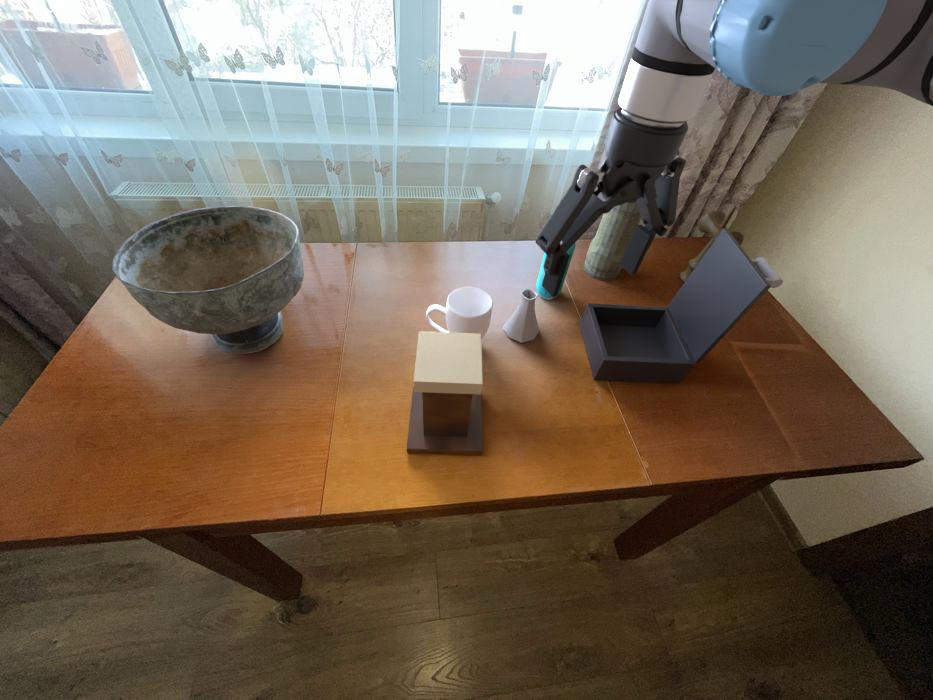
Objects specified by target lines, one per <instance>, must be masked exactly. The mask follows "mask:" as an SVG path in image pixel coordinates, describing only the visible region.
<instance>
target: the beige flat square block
mask: <svg viewBox="0 0 933 700" xmlns="http://www.w3.org/2000/svg"><path fill="white" fill-rule="evenodd" d="M482 350H483V349H482V339H481V334H472V333H450V332H438V331H426V330H425V331H424V330H418V335H417V345H416V355H415V363H414V365H415V366H414V373H413V387H414V392H430V393H456V394H481V395H482V390H483V385H484V381H483V352H482Z"/></svg>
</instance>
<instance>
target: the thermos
mask: <svg viewBox="0 0 933 700" xmlns="http://www.w3.org/2000/svg"><path fill="white" fill-rule="evenodd" d="M677 155H678V156H679V157H680V150H679V151H678V153H677ZM654 186H655V190H656V186H657V180H656V181H655V185H654ZM641 221H642V218H641V215H640V212H639V209H638V206H637V203H636V202H634V203H624V204H622V205H619V206H614V207H613V208H612V209H611V210H610V212H608V213H604V214H602V217H601V220H600V222H599V225H598V228H597V231H596V234H595V236H594V237H593V238H592V240H591V241H590V244H589V246H588V250H587V252H586V255H585V261H584V263H583V270H584V272H585V273H587V274H588V276H590V277H592V278H593V279H597V280H600V281H612V280H615V279H617V277H618V276H619V274H620V271H621V269H623V267H622V266H621V265H620V263H621V261H622V258H623V256H624V254H625V251H626V249H627V247H628V244H629V242H630V240H631V238H632V235H633V233H634V231H635V228H636V226H637V225H640V222H641Z"/></svg>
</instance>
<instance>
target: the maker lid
mask: <svg viewBox="0 0 933 700" xmlns="http://www.w3.org/2000/svg"><path fill="white" fill-rule="evenodd" d="M730 231H731V230H729V229H728V228H727V229H723V230H722V232H721V233H720V234H719V236H718V237H717V238H716V240H715V241H714V243H713V244H712V245H711V247H710V248H709V250H708V251H707V252H706V254H705V255H704V256H703V258H702V259H701V261H700V262H699V263H698V265H697V266H696V267H695V269H694V270H693V272H692V273H691V274H690V276H689V277H688V278H687V280H686V281H685V283H684V282H683V284H682V285H681V286H680V288H679V289H678V291H677V292H676V293H675V295H674V296H673V298H672V299H671V300H670V302H669V303H668V304H667V307H669V309H670V311H671V314H672V316H673V318H674V320H675V322H676V324H677V326H678V328H679V330H680V332H681V334H682V336H683V339H684V341H685V343H686V345H687V347H688V349H689V351H690V353H691V355H692V357H693V359H694V361H695V363H698V364H699V363H701V361H702V360H704V358H706V356H707V355H708V354H709V353H710V352H711V351H712V350H713V349H714V348H715V347H716V346H717V344H719V342H720V341H722V339H723V338H724V337H725V336H726V335H727V334H728V333H729V332H730V331H731V330H732V329H733V328H734V327H735V326H736V324H737V323H739V321H740V320H741V319H743V318H744V316H745V315H746V314H747V313H748V312H749V311H750V310H751V309H752V308H753V307H754V305H755V304H756V303H757V302H759V300H760V299H761V298H762V297H763V296H764V295H765V294H766V293H767V292H768V291H769V290H770V288H771V289H776V288H779V287H781V286H782V285H783V284H784V280H783V279H782V277H781V276H780V275H779V274H778V273H777V271H776V270H775V268H773V266H772V265H771V263H770V262H769V261H768V260H767V259H766V257H764V256H758V257H757V258H750V256H749V255H748V254H747V252H746V251H745V249H744V248H743V247H742V246H741V245H739V243H738V242H737V241H736V239H735V238H734V237H733V235H732V234H731V233H730Z"/></svg>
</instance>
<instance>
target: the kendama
mask: <svg viewBox="0 0 933 700" xmlns="http://www.w3.org/2000/svg"><path fill="white" fill-rule="evenodd" d="M736 209H737V205H733V206H732V208H731V209H730V210H729V212H728V213H727V215H726V213H724V212H723V211H721V210H711V211H709V212H706V213H705V214H704V215H703V216H701V218H700V220H699V222H698V224H697V228H698V231H699V232H701V233H703V234H709V235H710V236H711V238H710V240H709V241H708V243H707V244H706V245H705V246H704V248H703V249H702V250H701V251H700V252H699V253H698V254H697V256H695V257H694V258H692V259H689V262H688V267H687V268H686V270H684V271H683V270H682V271H681V272H680V273H679V279H680V281H681V282H683V284H684V283H685V281H686V280H687V278H688V277H689V276H690V274H691V273H692V272H693V270H694V269H695V267H696V266H697V265H698V263H699V262H700V261H701V259H702V258H703V256H704V255H705V254H706V252H707V251H708V250H709V248H710V247H711V245H712V244H713V243H714V241H715V240H716V238H717V237H718V236H719V234H720V233H721V232H722V230H723V229H728V227H727V225H728V223H729V222H730V220H731V219H732V217H733V215H734V213H735V212H736ZM729 231H730V233H731V234H732V235H733V237H734V238H735V239H736V241H737V242H738V243H739V245H740V246H741V245H742V244H743V242H744V234H743V233H742V232H741V231H737V230H729Z"/></svg>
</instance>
